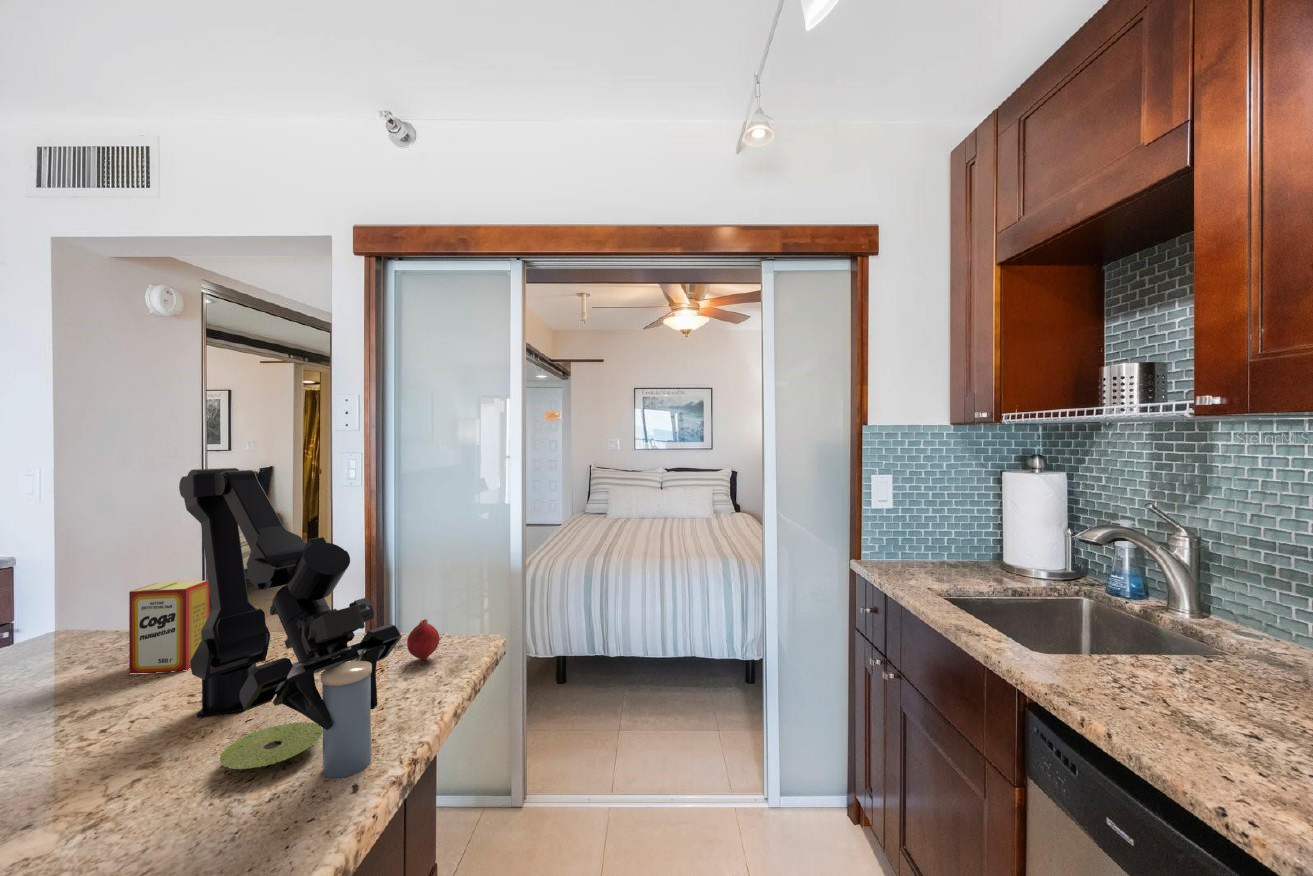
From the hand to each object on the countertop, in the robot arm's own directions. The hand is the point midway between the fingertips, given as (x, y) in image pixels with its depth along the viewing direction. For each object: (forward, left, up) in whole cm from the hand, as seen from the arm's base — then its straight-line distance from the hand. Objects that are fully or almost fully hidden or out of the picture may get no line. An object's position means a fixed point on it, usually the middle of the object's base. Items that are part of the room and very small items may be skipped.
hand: (353, 717), depth 69 cm
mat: (-11, +6, -7) cm, 14 cm away
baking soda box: (-43, +49, -7) cm, 65 cm away
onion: (+4, +36, -7) cm, 36 cm away
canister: (-1, +1, -7) cm, 7 cm away
